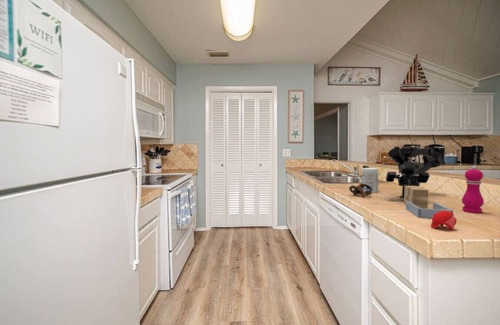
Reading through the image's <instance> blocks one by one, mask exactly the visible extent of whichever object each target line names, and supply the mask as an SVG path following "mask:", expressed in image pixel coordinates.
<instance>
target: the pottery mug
mask: <svg viewBox="0 0 500 325" xmlns="http://www.w3.org/2000/svg"><path fill="white" fill-rule="evenodd" d="M364 186H365V187H366V188H367V189H370V190H369V191H367V190H366V192H364V189H362V188H364ZM348 189H349V192H350V193H351V194H352V195H353V196H356V195H361V198H363V199H364V198H365V197H368V196H370V195H372V193H373V192H372V188H371V187H370V186H369V185H367V184H362V183H359V184H358V185H354V184H353V185H350V186H349V188H348Z"/></svg>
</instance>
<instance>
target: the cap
mask: <svg viewBox="0 0 500 325" xmlns="http://www.w3.org/2000/svg"><path fill="white" fill-rule="evenodd" d="M456 224H457V218H456V217H455V215H454V212H453V213H452V212H450V211H446V210H444V211H440V212H437V213H436V214H434V216H433V218H431V223H430V228H431V229H436V228H438V227H440V226H441V227H443V226H444V225H445V227H446V228H448V229H449V230H450V231H453V229H454V227H455V226H456Z"/></svg>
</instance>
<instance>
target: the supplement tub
mask: <svg viewBox="0 0 500 325" xmlns="http://www.w3.org/2000/svg"><path fill="white" fill-rule="evenodd" d="M361 184H367V185H369V186H370V187H371V188H372V193H377V192H378V191H379V169H378V168H376V167H362V168H361ZM362 189H364V192H366V190H367V191H369V190H370V189H367V188H366V187H365V186H364V188H362Z"/></svg>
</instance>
